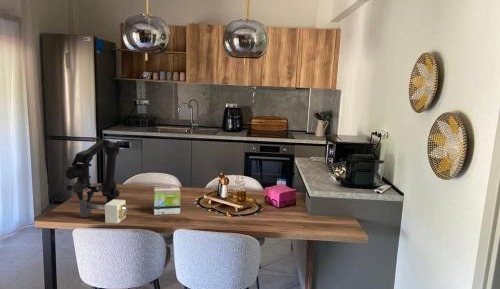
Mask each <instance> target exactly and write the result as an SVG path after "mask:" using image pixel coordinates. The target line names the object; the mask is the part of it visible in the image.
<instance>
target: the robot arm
mask: <svg viewBox="0 0 500 289" xmlns="http://www.w3.org/2000/svg"><path fill="white" fill-rule="evenodd" d="M120 148H121V145H120V144H119V143H118V142H116V141H111V140H109V139H104V138H100V139H99V140H98V141H96V142H95V143H94V144H93V145H90V147H89V148H87V149H85V150H82V151H79V152H77V153H76V154H75V156H74V158H73V161H72V162H71V165H70V166H68V169H67V170H66V171H65V177H66V179H68V180H74V179H76V181H75V182H72V183H69V184H67V185H66V186H65V190H66V191H68V192H69V191H70V192H71V191H72V193H74V194H76V196H77V198H78V200H79V201H80V199H82V198H84V193H83V192H84V190H88V191H86V194H87V198H88V203H90V201H91V199H92V197H93V195H94V193H99V192H101V193H102V194H101V195H102V197H105V201H106V203H105V204H107V203H109V202H110V201H112V200H113V199H116V200H117V198H118V197H119V196H120V191H119V190H118V188H117V184H116V182H115V174H116V173H115V169H116V161H117V160H116V158H117V156H118V155H119V153H120ZM103 149H104V152H105V155H106V164H105V167H106V168H105V178H104V181H103V182H101V184H94V185H92V182H90V181H91V180H90V179H92V178H91V177H92V176H91V175H90V167H92V163H91V162H92V160H93V159H94V156H95V155H97V154H98V153H99V152H101V151H102V150H103Z"/></svg>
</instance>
